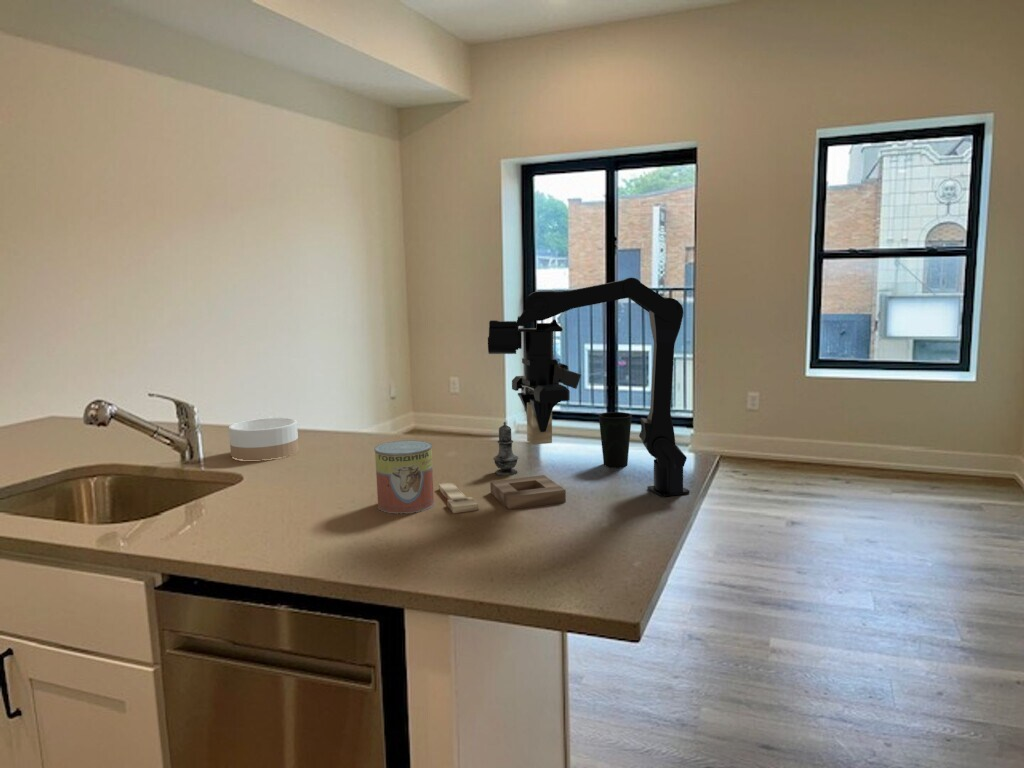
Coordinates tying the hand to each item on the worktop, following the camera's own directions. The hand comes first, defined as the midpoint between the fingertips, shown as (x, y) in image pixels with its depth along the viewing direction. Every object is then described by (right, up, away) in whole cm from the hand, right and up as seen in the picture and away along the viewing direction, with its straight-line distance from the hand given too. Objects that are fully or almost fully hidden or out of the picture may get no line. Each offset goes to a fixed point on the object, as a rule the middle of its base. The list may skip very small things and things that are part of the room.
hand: (539, 429), depth 148 cm
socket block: (-3, -14, 0) cm, 14 cm away
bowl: (-71, -10, +45) cm, 85 cm away
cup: (+19, -10, +23) cm, 32 cm away
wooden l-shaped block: (-17, -14, 0) cm, 22 cm away
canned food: (-27, -15, -3) cm, 31 cm away
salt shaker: (-7, -11, +19) cm, 23 cm away
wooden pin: (0, -3, 0) cm, 2 cm away
